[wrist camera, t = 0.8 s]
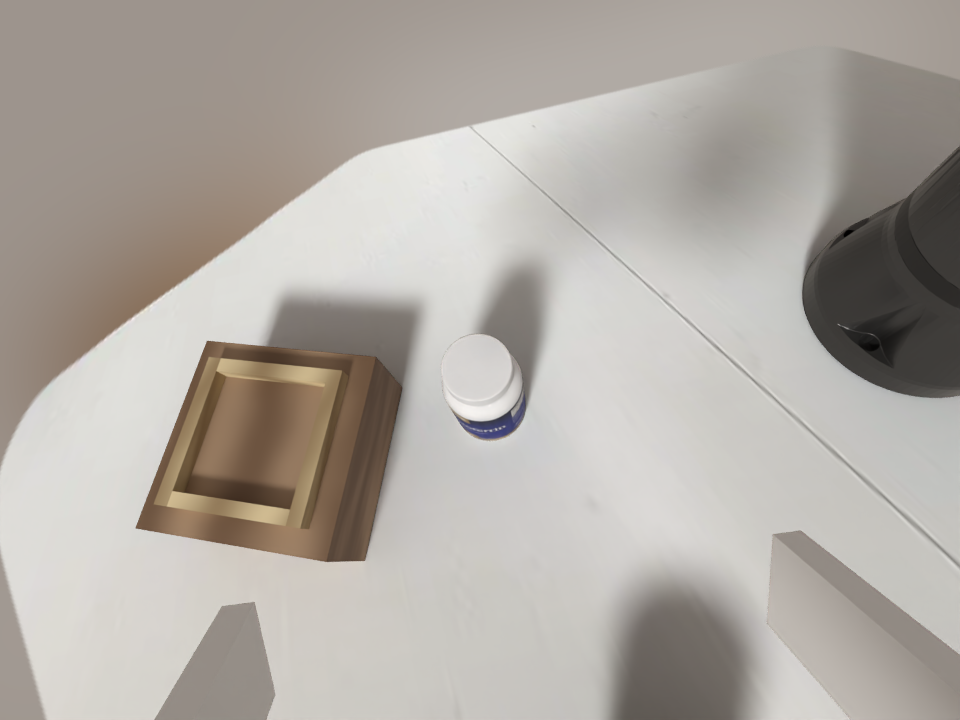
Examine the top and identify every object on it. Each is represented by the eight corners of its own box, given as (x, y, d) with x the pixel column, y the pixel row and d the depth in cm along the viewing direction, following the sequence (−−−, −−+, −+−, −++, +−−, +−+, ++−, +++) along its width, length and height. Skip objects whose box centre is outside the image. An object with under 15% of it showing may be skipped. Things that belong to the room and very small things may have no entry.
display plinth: (402, 387, 42) (370, 350, 34) (364, 560, 37) (317, 562, 29) (256, 372, 44) (196, 334, 37) (202, 532, 39) (121, 527, 32)
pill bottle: (449, 433, 40) (420, 397, 31) (468, 370, 42) (446, 318, 33) (517, 450, 39) (508, 417, 29) (533, 384, 40) (529, 334, 31)
